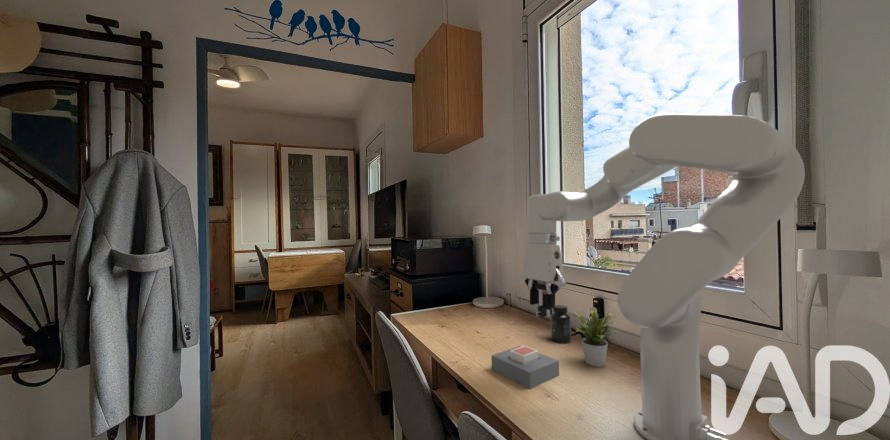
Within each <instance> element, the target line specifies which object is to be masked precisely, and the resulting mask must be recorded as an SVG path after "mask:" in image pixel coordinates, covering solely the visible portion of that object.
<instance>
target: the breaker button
mask: <svg viewBox="0 0 890 440" xmlns="http://www.w3.org/2000/svg"><path fill="white" fill-rule="evenodd" d="M538 353H539V350H537V349H534V348H531V347H529V346H526V345H521V347H519V348H516V349H513V350H510V359H512V360H514V361H517V362H519V363H521V364H524V365H525V364H528V363H530V362H533V361H535V360H538Z"/></svg>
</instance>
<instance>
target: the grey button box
mask: <svg viewBox="0 0 890 440" xmlns="http://www.w3.org/2000/svg"><path fill="white" fill-rule="evenodd" d="M519 347H522V345H519V346H516V347H512V348H509V349H507V350H503V351H501V352H497V353H494V354H492V355H491V370H493V372H496V373H498V374H501V375H503V376H504V377H506V378H508V379H510V380H512V381H515V382H516V383H518V384H520V385H522V386H524V387H526V388H528V389H533V388H535V387H538V386H540V385H541V384H543V383H546V382H547V381H548V382H549V381H550V380H552V379H554V378H558V377H559V376H560V360H558V359H556V358H553V357H550V356H547V355H545V354H543V353H540V352H538V360H535V361H533V362H530V363H528V364H525V365H524V364H521V363H519V362H517V361H514V360H512V359H510V350H513V349H516V348H519Z"/></svg>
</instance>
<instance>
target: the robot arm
mask: <svg viewBox="0 0 890 440" xmlns="http://www.w3.org/2000/svg"><path fill="white" fill-rule="evenodd" d="M602 166H603V167H602V169H603V174H604V175H603V176H602V178H600V180H598V181H597V182H595V183H594V184H593V185H592V186H590V187H588V188H586V189H584V190H583V191H581V192H577V191H566V190H565V191H563V190H561V191H560V190H559V191H554V192H551V193H547V194H546V193H540V194H539V193H538V194H532V195H530V196H529V197H528V198H527V243H526V245H525V251H524V258H523V259H524V260H523V270H522V273H521V274H520V277H521V279H522V280H523V281H524V282H525V284H526V286H527V289H528V290H529V304H530V305H538V301H539V290H537V289H536V288H535V284H534V282H535V281H541V282H545V284H546V289H547V293H548V294H545V308H546V309H551V308H552V309H553V308H554V307H555V305H556V294H558V292H559V290H560V289H561V288H563V287H565V286H566V285H567V281H566V280H565V278H564V268H563V266H564V265H563V255H562V251H561V247H560V245H559V244H557V242H559V241H560V239H561V238H560V236H558V235H557V234H558V233H557V222H583V221H587V220H589V219H592V218H594V217H596V216H598V215H599V214H601V213H603V212H606V211H607V210H609V209H611V208H613V207H614V206H616V205H617V204H618V203H619V202H621V200H623V199H624V198H625V197H626V196H627V195H628V194H629V193H631V192H632V191H635V190H636V189H638V188H639V187H642V186H643V185H645V184H647V183H649V182H651V181H653V180H655V179H657V178H658V177H660V176H663V175H664V174H666V173H668V172H670V171H672V170H673V169H676V168H677V167H686V168H695V169H699V170H700V169H701V170H709V171H714V172H715V171H716V172H720V173H724V174H728V175H731V176H732V179H731V182H730V184H729V185H728V186H727V188H726V189H725V190H724V191H723V192H721V194H719V195H718V196H717V197H716V198H715V200H713V202H711V204H710V205H709V206H708V208H707V209H706V210H705V212H704V213H703V214H702V215H701V216H700V217H699V218H698V219H697V220H696V221H695V222H694V223H693V224H692V225H690V226H689V227H681V228H680V227H679V228H676V229H673V230H671V231H669V232H666V234H664V235H663V236H661V237H660V238H659V239H657V241H656V242H655V243H654V244H653V245H652V246H651V247H650V248H649V250H648V251H647V252H646V253H645V255H644V256H643V257H642V258H641V259H640V261H638V263H637V264H636V266H635V267H634V268H633V269H632V271H631V272H630V273H629V274H628V276H627V277H626V278H625V279H624V281H622V284H621V286H620V287H619V289H618V293H617V304H618V308H619V311H620V313H621V314H622V316H624V318H625V319H626V320H627V321H628V322H629V323H631V324H632V325H635V326H637V327H639V328H640V330H639V331H640V333H639V346H640V347H639V353H640V355H639V358H640V382H641V383H640V384H641V386H640V387H641V406H642V407H641V409H642V410H640V411H637V412H636V413H635V414H634V416H633V424H634V427H635V429H636V431H637V432H638V433H639V434H640V435H641V436H642V437H643V438H645V440H729V439H728V433H727V432H724V431H722V430H720V429H716V428H713V427H712V426H711V425H710V424H708V419H709V418H708V416H706V415H704V414H702V395H701V394H702V393H701V389H702V388H701V372H700V371H701V370H700V369H701V368H700V324H701V312H702V298H701V292H702V291H703V290H704V289H705V288H706V287H707V286H708V285H709V284H710V283H712V282H713V281H715V280H718V279H721V278H723V277H725V276H727V275H728V274H730V273H731V272H732V271H733V270H734V269H735V267H736V266H737V265H738V264H739V262H740V261H741V260H742V259H743V258H744V257H745V256H747V254H748V253H749V252H750V251H751V250H752V249H753V248H754V247H755V246H756V245H757V244H758V243H759V242H760V240H762V239H763V238H764V236H766V235H767V233H768V232H769V231H770V230H771V228H773V227H774V226H775V224H777V222H779V220H780V219H781V218H783V216H784V215H785V214H786V213H787V212H788V211H789V210H790V208H791V207H792V206H793V204H794V203H795V202H796V200H797V199H798V197H799V195H800V193H801V191H802V189H803V185H804V183H805V179H806V178H805V177H806V172H805V164H804V161H803V158H802V156H801V154H800V153H799V152H798V150H797V149H796V147H795V146H794V144H793V143H792V142H791V141H790V140H789V139H788V138H787V137H786V136H785V135H784V134H783V133H782V132H780V131H779V130H777V129H776V128H775V127H773V126H772V125H770V124H768V123H767V122H766V121H764V120H762V119H760V118H757V117H754V116H750V115H741V114H702V113H701V114H697V113H695V114H691V113H689V114H688V113H686V114H685V113H659V114H654V115H651V116H648V117H647V118H644V119H643V120H642V121H640V122H638V124H637V125H636V126H635V127H634V128H633V130H632V131H631V133H630V135H629V139H628V146H627V147H626V148H624V149H623V150H621V151H619V152H617V153H616V154H614V155H613V156H611V157H609V158H608V159H607V160H605V162H604V163H603V165H602ZM551 284H552V288H551Z"/></svg>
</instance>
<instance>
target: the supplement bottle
mask: <svg viewBox="0 0 890 440" xmlns="http://www.w3.org/2000/svg"><path fill="white" fill-rule="evenodd" d="M568 312H569V311H568V306H567V305H562V304H555V307H554V308H552V315H550V339H551V341H553V342H555V343H558V344H568V343H571V342H572V321H571V319H572V318H571V316H570V315H569V314H568Z"/></svg>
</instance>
